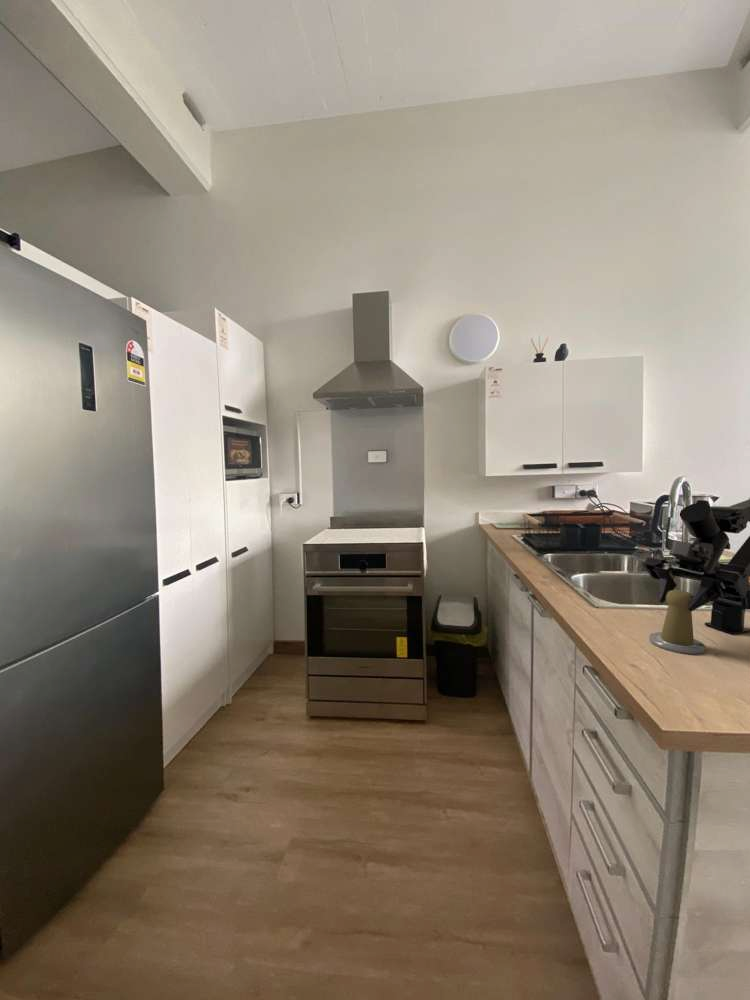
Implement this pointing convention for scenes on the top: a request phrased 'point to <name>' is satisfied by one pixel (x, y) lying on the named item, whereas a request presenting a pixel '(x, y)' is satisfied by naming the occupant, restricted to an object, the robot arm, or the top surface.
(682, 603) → the cork
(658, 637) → the coaster
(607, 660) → the top surface
